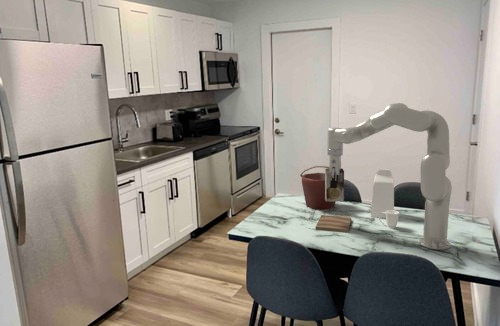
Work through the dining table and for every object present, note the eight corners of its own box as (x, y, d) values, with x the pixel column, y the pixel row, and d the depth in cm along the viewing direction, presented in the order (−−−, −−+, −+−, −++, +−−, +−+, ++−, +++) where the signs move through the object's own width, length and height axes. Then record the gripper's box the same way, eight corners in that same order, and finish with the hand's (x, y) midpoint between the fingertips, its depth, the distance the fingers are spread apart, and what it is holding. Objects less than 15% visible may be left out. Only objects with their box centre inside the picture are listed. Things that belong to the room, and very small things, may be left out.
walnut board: (348, 232, 189) (348, 229, 189) (315, 229, 194) (315, 226, 194) (351, 219, 208) (351, 217, 207) (321, 217, 213) (321, 214, 213)
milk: (370, 217, 212) (372, 170, 208) (371, 211, 223) (373, 167, 218) (394, 218, 208) (396, 171, 204) (393, 212, 219) (395, 167, 215)
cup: (396, 230, 190) (397, 214, 189) (376, 226, 196) (376, 211, 195) (400, 226, 196) (401, 211, 194) (381, 223, 202) (382, 208, 200)
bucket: (345, 204, 238) (346, 164, 234) (333, 213, 219) (334, 170, 215) (308, 199, 250) (308, 161, 246) (294, 208, 231) (294, 167, 227)
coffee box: (342, 198, 201) (342, 168, 199) (344, 201, 195) (344, 170, 192) (324, 198, 202) (325, 168, 200) (325, 201, 196) (326, 170, 193)
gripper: (340, 155, 185) (340, 190, 188) (344, 150, 201) (343, 183, 204) (325, 154, 188) (324, 189, 191) (329, 149, 204) (329, 182, 207)
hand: (334, 186), depth 197 cm, fingers closed on coffee box, 7 cm apart
